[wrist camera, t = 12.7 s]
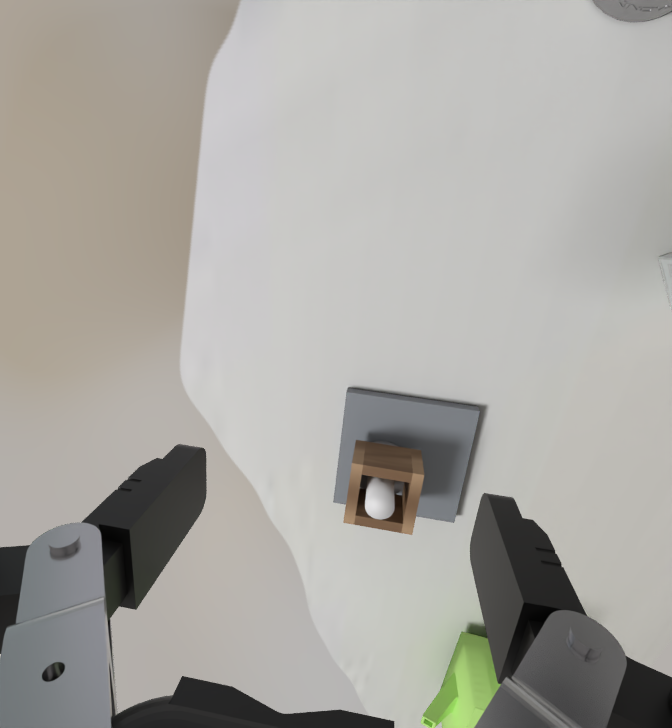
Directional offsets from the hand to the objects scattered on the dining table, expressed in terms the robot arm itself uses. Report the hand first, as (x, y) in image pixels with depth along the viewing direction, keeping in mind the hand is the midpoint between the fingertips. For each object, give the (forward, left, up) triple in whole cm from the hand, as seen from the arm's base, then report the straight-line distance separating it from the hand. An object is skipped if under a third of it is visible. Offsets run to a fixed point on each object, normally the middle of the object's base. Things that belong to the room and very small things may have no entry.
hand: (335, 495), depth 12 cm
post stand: (+15, +5, -30) cm, 33 cm away
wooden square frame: (+16, +3, -27) cm, 31 cm away
